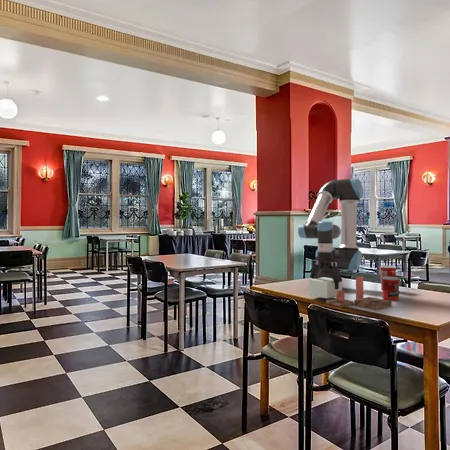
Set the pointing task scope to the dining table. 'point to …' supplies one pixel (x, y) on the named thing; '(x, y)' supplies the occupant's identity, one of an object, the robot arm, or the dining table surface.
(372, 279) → the dining table surface
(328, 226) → the robot arm
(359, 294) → the peg
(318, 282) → the block
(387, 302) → the wooden square frame
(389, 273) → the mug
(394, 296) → the canned food
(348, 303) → the board
